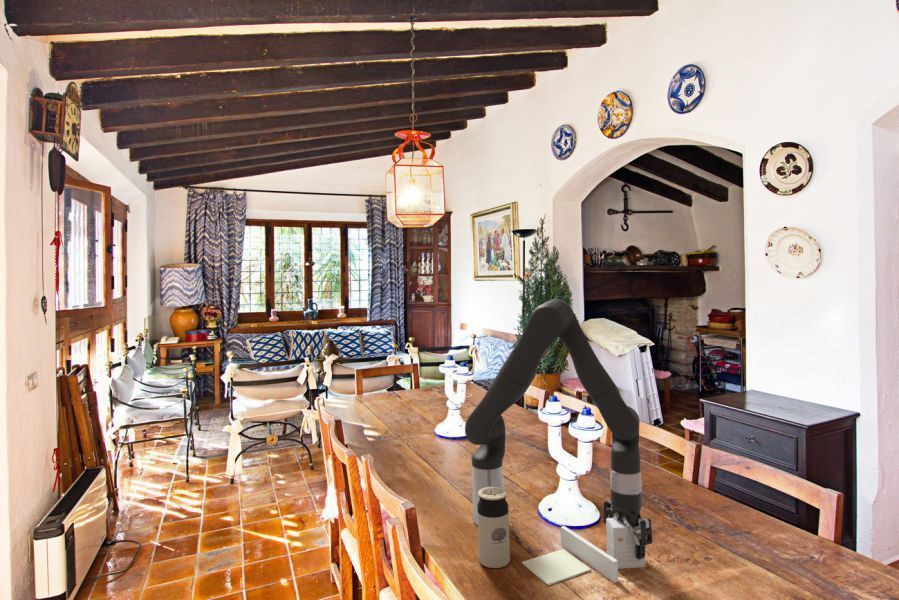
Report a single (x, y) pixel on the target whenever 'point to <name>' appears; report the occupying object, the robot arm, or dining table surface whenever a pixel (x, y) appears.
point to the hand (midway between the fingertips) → (627, 550)
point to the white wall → (590, 554)
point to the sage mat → (556, 567)
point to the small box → (622, 544)
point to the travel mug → (493, 527)
